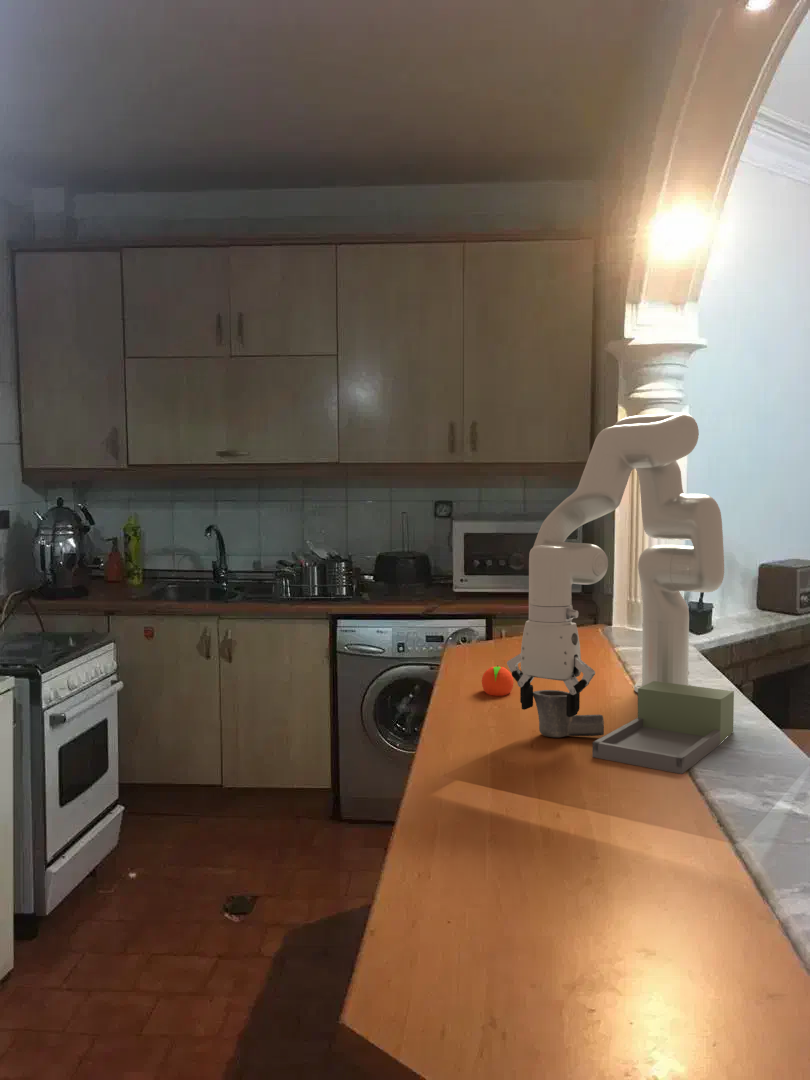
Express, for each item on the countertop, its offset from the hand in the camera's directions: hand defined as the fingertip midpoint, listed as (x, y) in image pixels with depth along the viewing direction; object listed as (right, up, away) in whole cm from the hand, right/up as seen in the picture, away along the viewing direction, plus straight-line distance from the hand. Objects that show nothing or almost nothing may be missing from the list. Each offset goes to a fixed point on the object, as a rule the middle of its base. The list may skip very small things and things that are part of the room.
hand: (549, 711), depth 152 cm
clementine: (-6, -4, +33) cm, 33 cm away
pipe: (+4, -5, +3) cm, 7 cm away
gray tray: (+20, -5, -3) cm, 21 cm away
